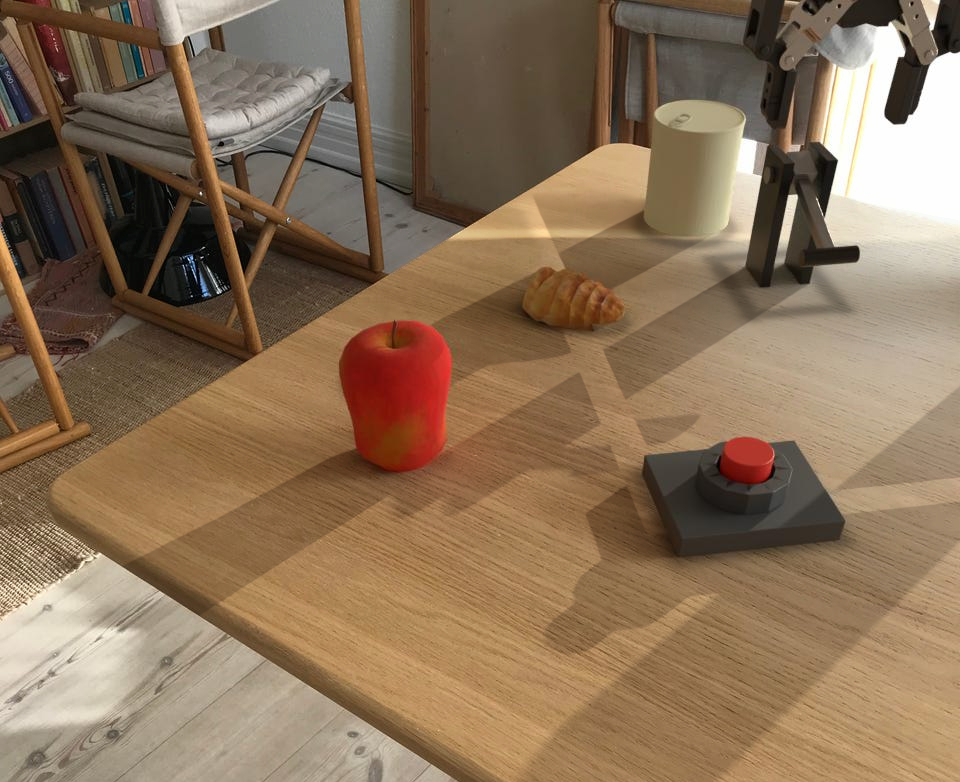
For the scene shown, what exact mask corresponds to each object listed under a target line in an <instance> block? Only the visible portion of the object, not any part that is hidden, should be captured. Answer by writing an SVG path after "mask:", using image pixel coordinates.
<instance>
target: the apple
mask: <svg viewBox="0 0 960 782" xmlns="http://www.w3.org/2000/svg"><path fill="white" fill-rule="evenodd" d="M452 369H453V361H452V353H451V350H450V348H449V347H448V345H447V343H446V341H445V339H444V337H443V335H442V334H441V333H439V332H438V331H437V330H436V329H435V327H433V326H431V325H429V324H426V323H424V322H421V321H419V320H405V319H404V320H399V319H397V320H395V319H393V321H386V322H381V323H377V324H374V325H372V326H370V327H367V328H365V329H362V330H360V331H359V332H358V333H356V334H355V335H354V336H352V337H351V338H350V339H349V341H348V342H347V344H345V346H344V348H343V351H342V353H341V357H340V359H339V361H338V375H339V380H340V385H341V389H342V394H343V397H344V400H345V403H346V406H347V410H348V412H349V415H350V419H351V423H352V429H353V435H354V442H355V446H356V447H355V449H356V450H357V452H358V453H359V454H360V455H361V456H362V457H363V459H365V460H367V461H368V462H370V463H372V464H374V465H376V466H378V467H381V468H382V469H384V470H385V471H391V472H397V473H400V472H411V471H414V470H415V471H416V470H417V469H421V468H424V467H425V466H426V465H428V464H429V463H430V462H432V461H433V460H434V459H435V458H436V457H437V456H438V455H439V454H441V452H442V451H443V450H444V448H445V445H446V443H447V441H448V437H447V436H448V435H447V434H448V433H447V416H446V414H447V413H446V412H447V411H446V410H447V405H448V399H449V392H450V386H451V378H452Z"/></svg>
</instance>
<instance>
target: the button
mask: <svg viewBox="0 0 960 782" xmlns="http://www.w3.org/2000/svg"><path fill="white" fill-rule="evenodd" d="M727 441H728V442H727ZM727 441H726V442H727V443H726V444H725V445H724V447H723V452H722V457H721V462H720V472H721V474H722V475H723V476H724V477H726V478H728V479H729V480H731V481H733V482H738V483H743V484H747V485H749V484H759V483H763V482H764V481H766V480H767V479H768V478H769V476H770V472H771V468H772V464H773V459H774V450H773V449H772V447H771V446H770V445H769V444H768V443H769V442H766V441H765V440H763V439H760V438H757V437H752V436H738V437H734V438H731V439H729V440H727Z"/></svg>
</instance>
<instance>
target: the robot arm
mask: <svg viewBox="0 0 960 782" xmlns="http://www.w3.org/2000/svg"><path fill="white" fill-rule="evenodd" d="M785 3H786V0H751V1H750V4H749V5H750V6H749V9H748V10H749V11H748V14H747V20H746V23H745V28H744V33H743V38H742V44H743V47H744V48H745V49H746V50H748V51H749V52H750V53H751V54H752V55H753V56H754V57H755V59H757V60H759V61H764V62H766V70H765V77H764V82H763V88H762V93H761V99H760V103H759V104H760V106H759V107H760V113H761V115H762V116H763V117H764V118H765V121H766V123H767V125H768V126H770V128H772V130H774V131H775V130H785V129H786V128H787V126H788V120H789V116H790V111H791V106H792V101H793V96H794V92H795V87H796V83H797V82H796V81H797V77H798V72H799V71H798V70H797V69H796V68H795V67H796V66H797V65H798V63H799V62H800V61H801V60H802V59H803V57H804V56H805V55H806V54H807V53H808V52H809V50H810V49H811V48H812V47H813V45H815V44H816V43H819V42H821V41H823V39H825V37H826V36H827V35H828V34H829V32H830V31H831V30H832V29H833V28H834V26H836V25H837V26H838V27H839V28H841V29H853V28H857V27H860V26H863V25H869V26H873V27H877V28H882V27H883V28H884V27H885V28H886V27H889V25H890V23H891V24H892V26H893V27H894V29H895V31H896V33H897V36H898V38H899V41H900V43H901V46H902V48H903V50H904V55H903V56H898V57H897V61H896V64H895V68H894V71H893V75H892V78H891V83H890V86H889V91H888V95H887V98H886V102H885V106H884V110H883V116H884V118H885V119H886V120H887V121H888V122H890V123H891V124H892V125H894V126H897V125H900V126H901V125H906V124H907V122H908V118H909V116H913V115H914V113H915V112H916V111H917V109H918V107H919V103H920V100H921V96H922V93H923V89H924V86H925V83H926V79H927V75H928V72H929V69H930V66H931V65H932V64H933V62H934V61H935V60H936V59H937V58H940V57H942V56H944V55H947V54H949V53H951V54H959V53H960V0H939V3H938V7H937V11H936V16H935V20H934V24H933V28H932V29H931V27H930V26H931V20H930V17H929V15H928V12H927V10H926V7H925V3H924V1H923V0H800V1H798V3H797V5H796V6H795V7H794V8H793V9H792V10H791V11H790V14H789V19H788V20H787V22H786V24H785V25H784V26H783V27H782V28H781V29H780V31H779V27H780V23H781V19H782V14H783V11H784V6H785ZM778 31H779V32H778Z"/></svg>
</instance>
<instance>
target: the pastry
mask: <svg viewBox="0 0 960 782" xmlns="http://www.w3.org/2000/svg"><path fill="white" fill-rule="evenodd" d="M521 308H522V310H524V311H525V312H526V314H528V316H529V317H530V318H532V319H533V320H534V321H535V322H542V323H545V324H546V325H547V326H552V327H558V328H564V329H570V330H578V331H587V332H595V329H594V327H593V324H595V325H604V324H610V323H616V322H618V321H620V320H621V319H622V318H623V317H624V316H625V313H626V309H627V308H626V306H625V305H624V303H623V301H622V300H621V298H619V297H618V296H617V295H615V293H614V291H613V290H611V289H609V288H606V287H604V286H603V284H602V283H601V282H600V281H595V280H592V279H591V278H590V277H589V276H588V275H587V274H585V272H581V273H575V272H574V271H573V270H572V269H570V268H563V269H561V270H559V271H557V270H556V269H554V268H553V267H551V266H543V267H541V268H539V269H538V270H537V271H536V272H534V274H533V276H532V278H531V280H529V282H528V284H527V287H526V290H525V292H524V296H523V300H522V305H521Z"/></svg>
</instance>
